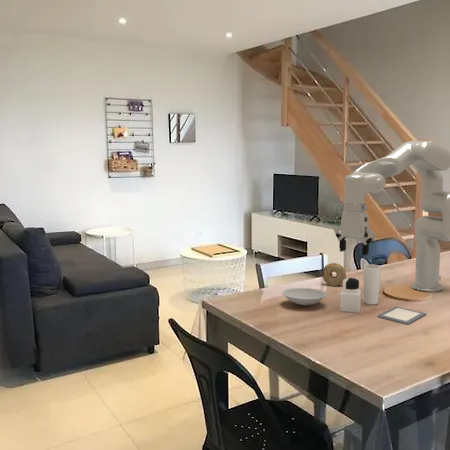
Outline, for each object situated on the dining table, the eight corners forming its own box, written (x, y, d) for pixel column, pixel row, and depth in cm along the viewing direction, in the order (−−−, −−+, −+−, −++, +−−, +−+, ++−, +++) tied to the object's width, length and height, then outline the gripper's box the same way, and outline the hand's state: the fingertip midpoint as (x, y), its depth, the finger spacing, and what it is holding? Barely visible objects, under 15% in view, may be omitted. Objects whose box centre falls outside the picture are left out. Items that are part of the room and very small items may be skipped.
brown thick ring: (321, 285, 230) (321, 263, 229) (323, 283, 234) (323, 261, 232) (344, 287, 227) (345, 265, 225) (346, 285, 230) (346, 263, 228)
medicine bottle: (360, 307, 200) (361, 277, 198) (359, 313, 194) (359, 282, 192) (341, 305, 203) (342, 276, 201) (339, 311, 196) (340, 280, 194)
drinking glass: (380, 306, 201) (382, 268, 198) (362, 305, 202) (363, 268, 200) (379, 300, 207) (380, 264, 205) (361, 300, 209) (362, 264, 206)
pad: (395, 307, 198) (395, 306, 198) (426, 314, 190) (426, 313, 190) (377, 317, 189) (377, 315, 189) (408, 324, 180) (408, 323, 180)
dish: (328, 301, 208) (329, 289, 207) (324, 313, 194) (324, 300, 194) (286, 298, 213) (286, 286, 213) (278, 309, 200) (278, 296, 199)
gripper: (381, 208, 188) (379, 254, 190) (340, 205, 200) (339, 248, 203) (370, 211, 182) (368, 258, 185) (329, 207, 195) (328, 251, 198)
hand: (353, 252), depth 194 cm, fingers open, 9 cm apart
